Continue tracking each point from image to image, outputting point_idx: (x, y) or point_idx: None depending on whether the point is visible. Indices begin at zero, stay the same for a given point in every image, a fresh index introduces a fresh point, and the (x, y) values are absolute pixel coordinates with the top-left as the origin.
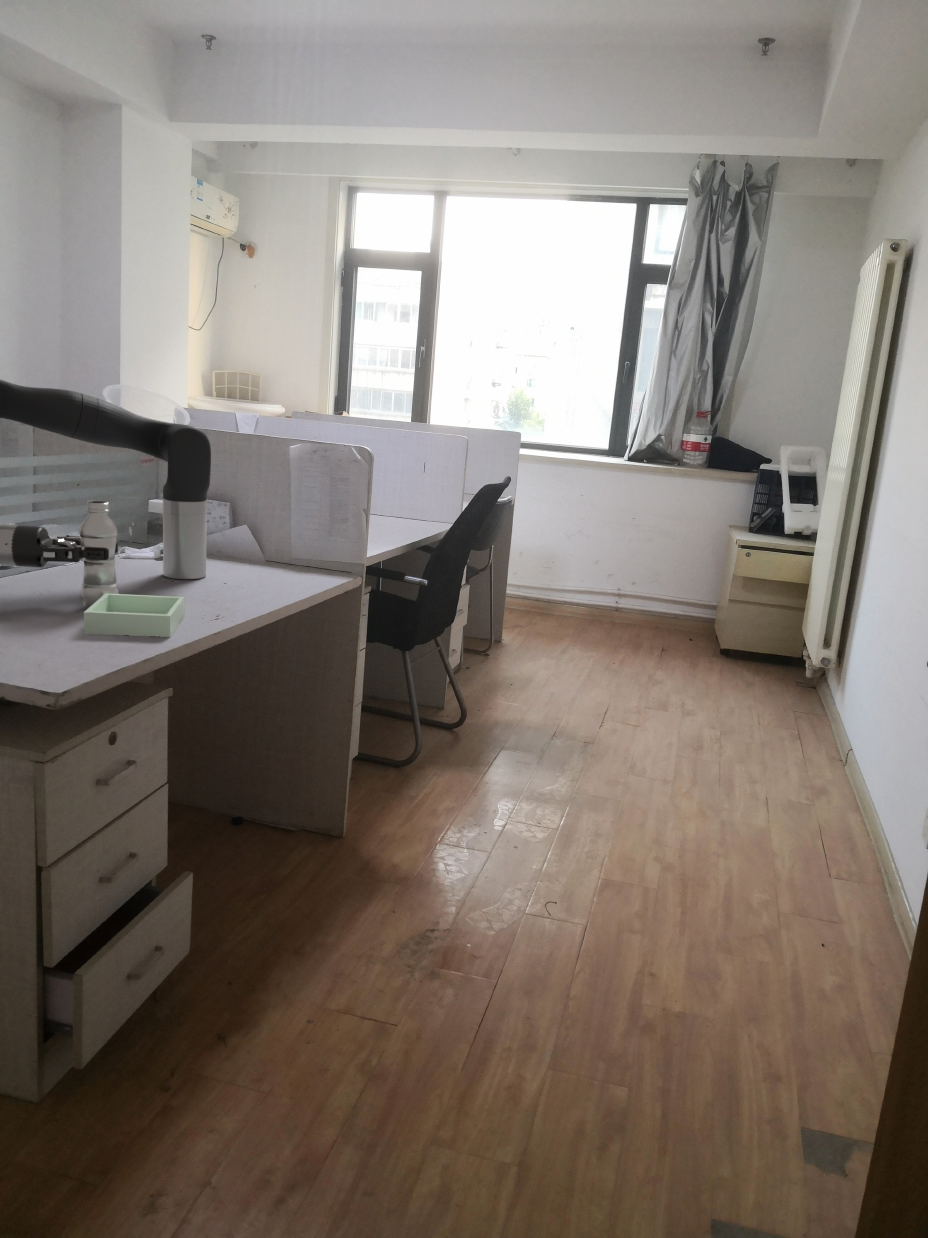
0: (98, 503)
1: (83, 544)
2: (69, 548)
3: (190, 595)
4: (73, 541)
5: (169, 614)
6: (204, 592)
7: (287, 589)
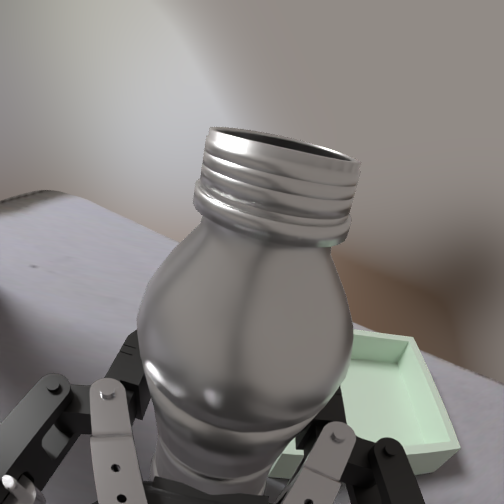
0: (348, 158)
1: (295, 435)
2: (406, 471)
3: (97, 319)
4: (151, 495)
5: (406, 338)
6: (81, 298)
7: (99, 230)
